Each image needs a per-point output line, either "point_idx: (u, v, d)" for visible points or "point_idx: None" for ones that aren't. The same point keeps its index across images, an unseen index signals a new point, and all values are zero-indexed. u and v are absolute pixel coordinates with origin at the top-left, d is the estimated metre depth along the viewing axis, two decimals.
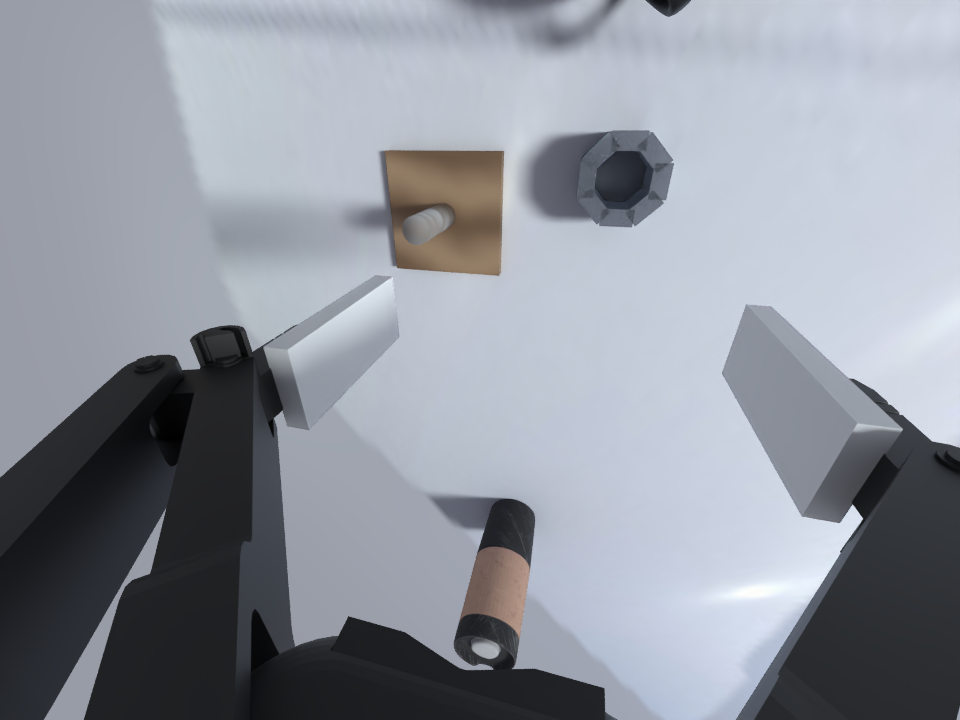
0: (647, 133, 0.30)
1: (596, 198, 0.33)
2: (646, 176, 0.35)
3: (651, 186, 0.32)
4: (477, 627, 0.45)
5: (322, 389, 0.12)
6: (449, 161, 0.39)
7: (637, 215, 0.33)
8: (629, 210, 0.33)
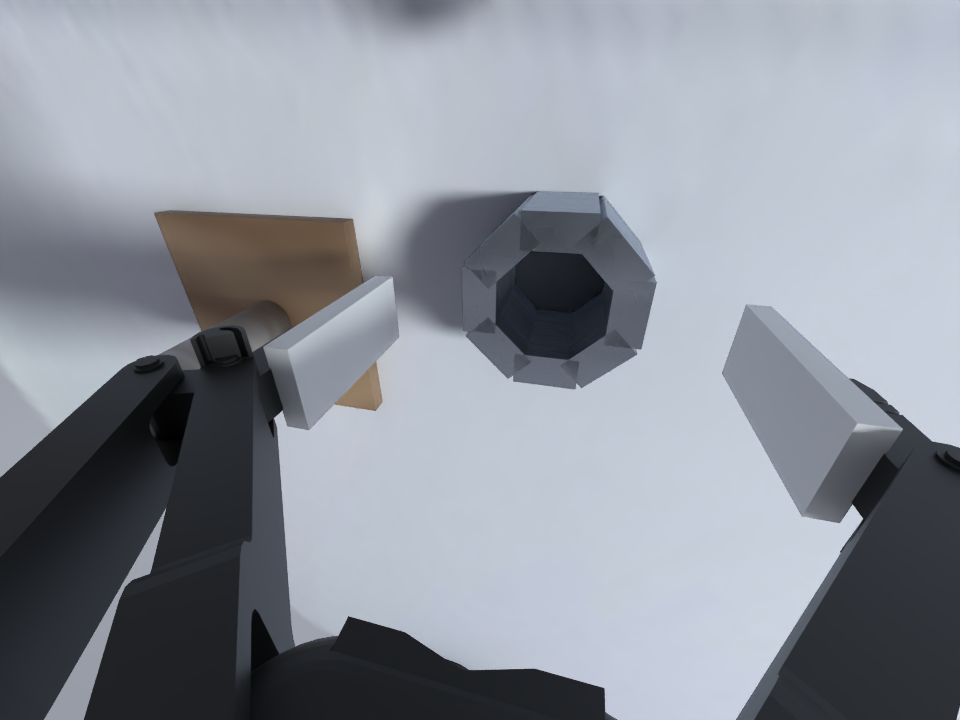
0: (596, 219, 0.13)
1: (501, 335, 0.16)
2: None
3: (610, 322, 0.15)
4: None
5: (322, 389, 0.12)
6: (260, 235, 0.21)
7: (584, 371, 0.16)
8: (568, 360, 0.16)
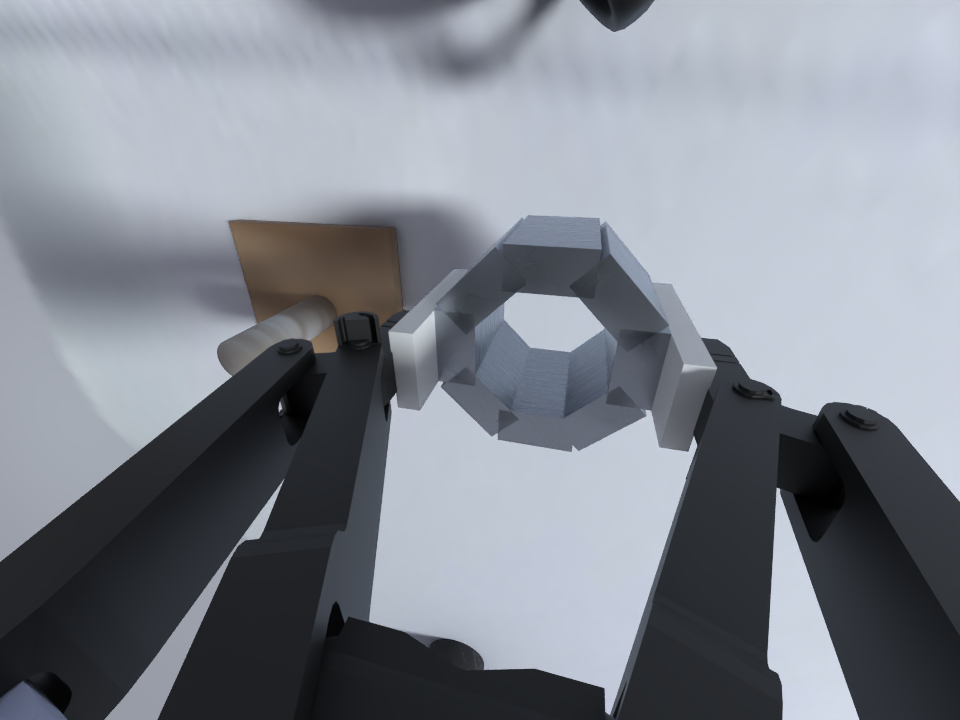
0: (596, 256, 0.11)
1: (483, 387, 0.14)
2: None
3: (613, 378, 0.12)
4: None
5: (428, 373, 0.13)
6: (318, 240, 0.26)
7: (581, 431, 0.14)
8: (563, 419, 0.14)
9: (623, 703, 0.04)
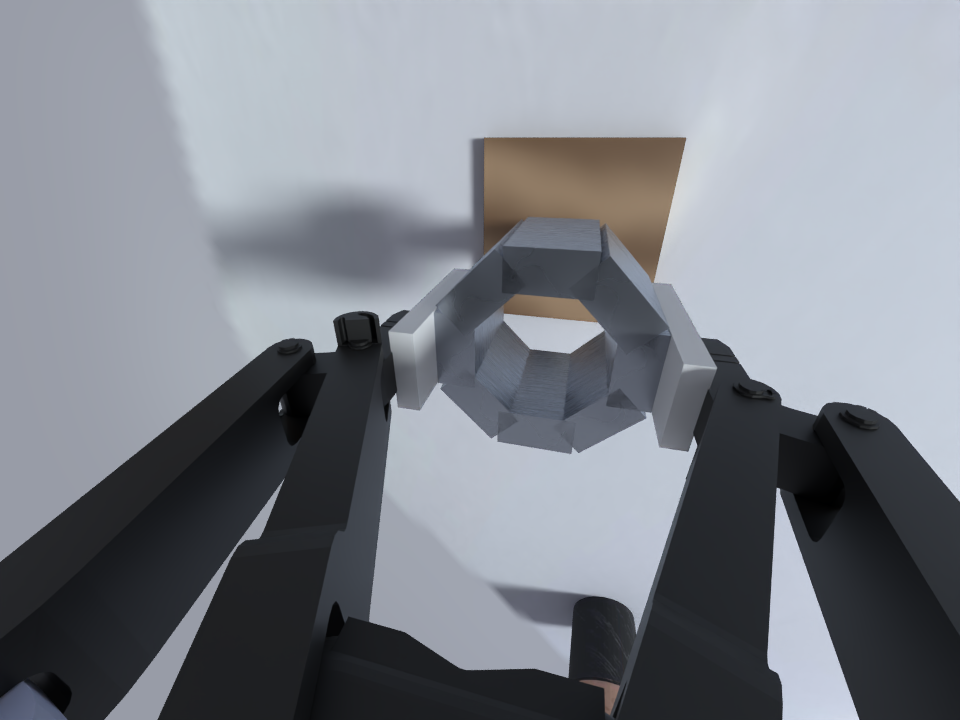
0: (595, 258, 0.11)
1: (482, 389, 0.14)
2: None
3: (613, 380, 0.12)
4: None
5: (428, 373, 0.13)
6: (591, 153, 0.24)
7: (581, 433, 0.14)
8: (562, 421, 0.14)
9: (623, 703, 0.04)
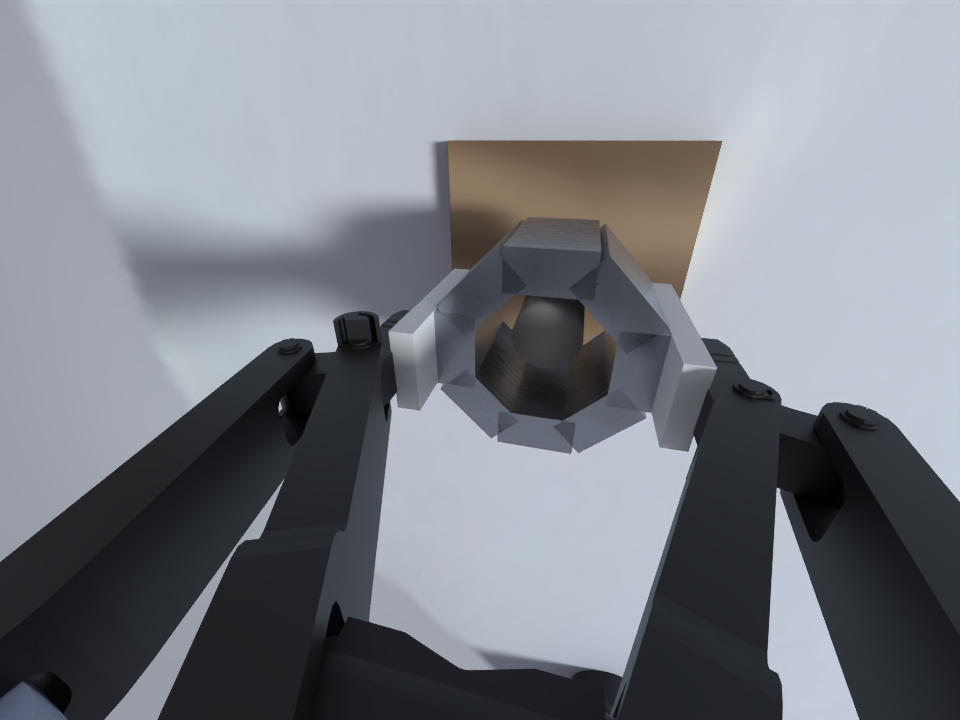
0: (595, 258, 0.11)
1: (482, 389, 0.14)
2: None
3: (613, 380, 0.12)
4: None
5: (428, 373, 0.13)
6: (590, 162, 0.18)
7: (581, 434, 0.14)
8: (562, 421, 0.14)
9: (623, 703, 0.04)
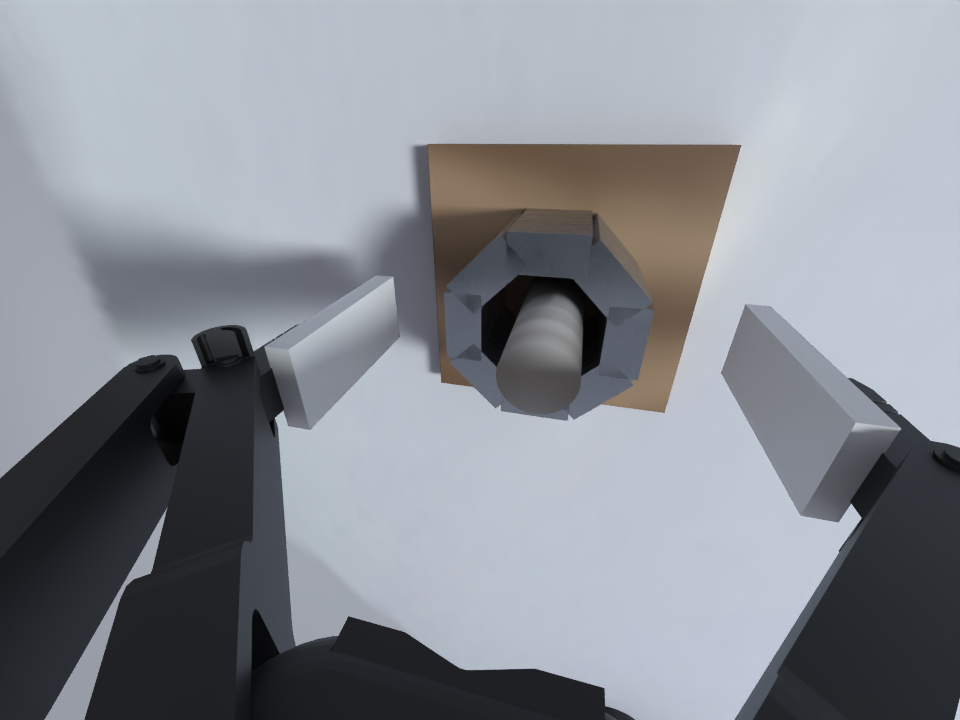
0: (587, 242, 0.12)
1: (488, 362, 0.15)
2: None
3: (604, 351, 0.14)
4: None
5: (323, 389, 0.12)
6: (589, 169, 0.16)
7: (576, 401, 0.15)
8: None
9: None
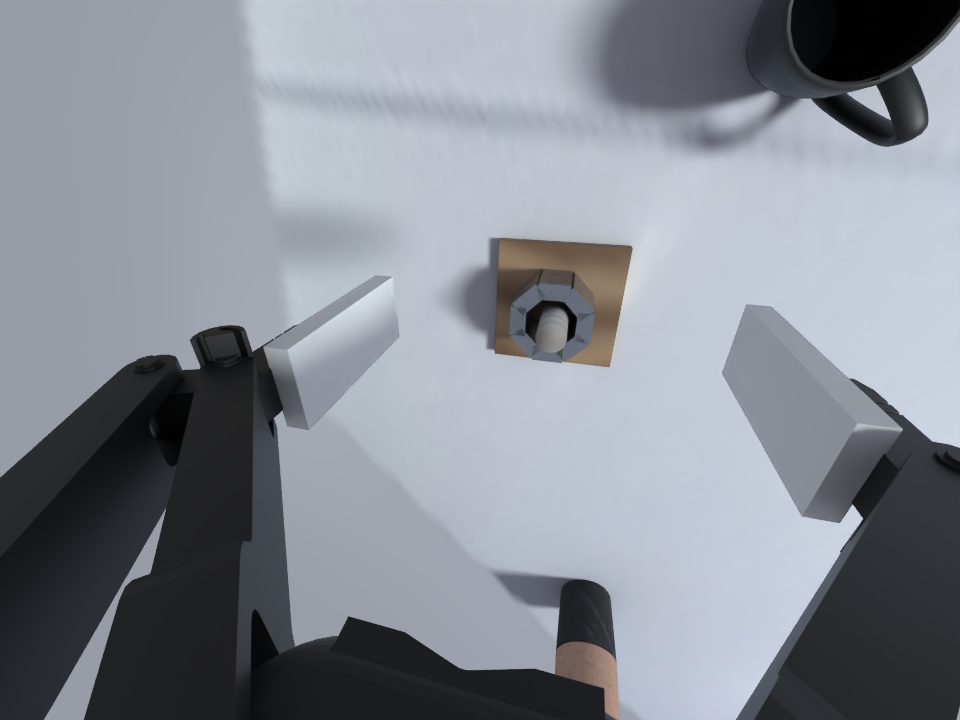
0: (569, 288, 0.33)
1: (527, 336, 0.35)
2: None
3: (576, 331, 0.34)
4: None
5: (322, 389, 0.12)
6: (571, 254, 0.36)
7: (565, 353, 0.35)
8: None
9: None
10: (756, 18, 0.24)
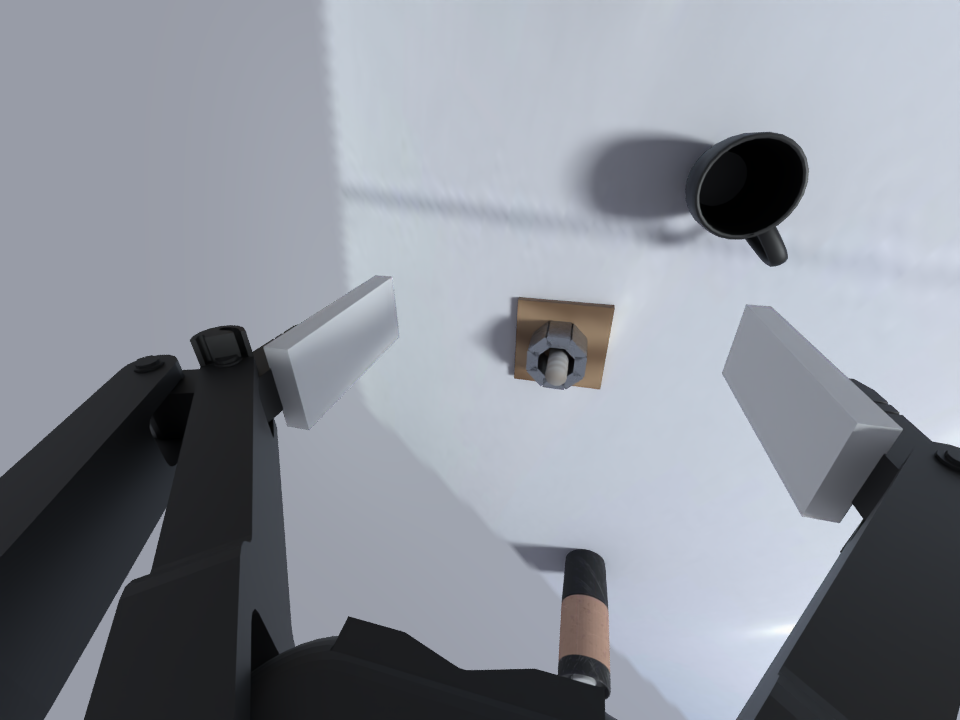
0: (568, 340, 0.46)
1: (539, 371, 0.49)
2: None
3: (574, 368, 0.48)
4: (579, 666, 0.56)
5: (322, 389, 0.12)
6: (570, 310, 0.50)
7: (566, 383, 0.49)
8: None
9: None
10: (687, 180, 0.37)
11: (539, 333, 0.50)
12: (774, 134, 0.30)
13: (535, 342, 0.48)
